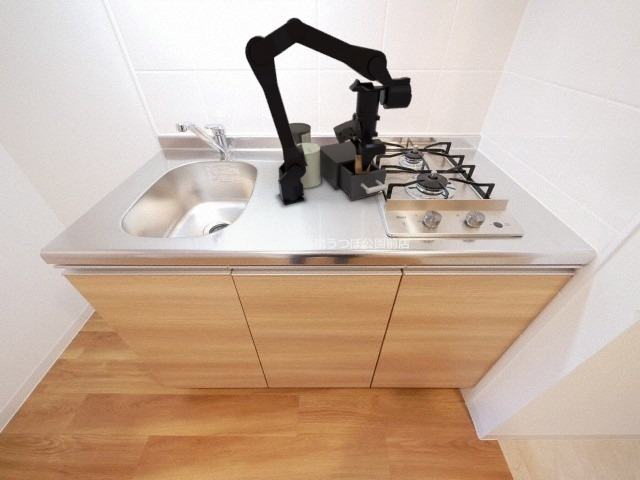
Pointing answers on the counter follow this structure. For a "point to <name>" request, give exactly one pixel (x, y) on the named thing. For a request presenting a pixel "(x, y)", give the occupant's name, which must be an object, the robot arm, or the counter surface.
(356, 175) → the dark grey drawer
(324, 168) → the dark grey drawer box
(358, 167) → the block
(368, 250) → the counter surface
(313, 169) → the can
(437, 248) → the counter surface
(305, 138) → the coffee can
